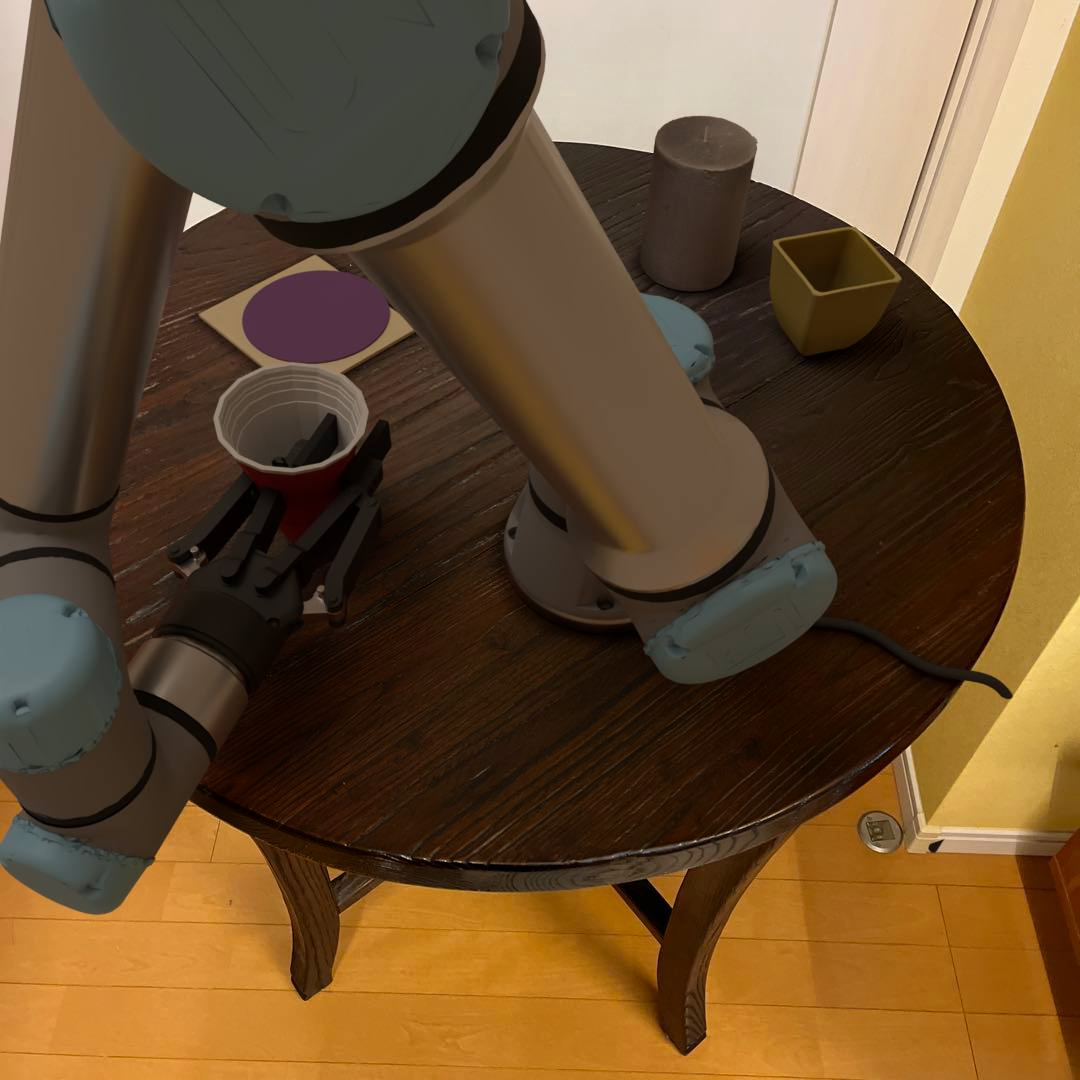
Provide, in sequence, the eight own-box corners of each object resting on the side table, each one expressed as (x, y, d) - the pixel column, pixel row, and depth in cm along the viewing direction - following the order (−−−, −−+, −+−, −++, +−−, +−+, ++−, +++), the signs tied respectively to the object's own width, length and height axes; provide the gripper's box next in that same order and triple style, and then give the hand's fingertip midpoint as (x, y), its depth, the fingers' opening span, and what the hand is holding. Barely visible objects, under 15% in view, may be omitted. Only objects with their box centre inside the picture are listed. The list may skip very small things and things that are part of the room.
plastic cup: (356, 585, 81) (335, 480, 72) (224, 557, 82) (186, 450, 73) (402, 482, 88) (388, 373, 78) (279, 457, 89) (250, 348, 80)
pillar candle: (627, 243, 112) (641, 107, 100) (714, 231, 114) (737, 96, 102) (658, 299, 106) (676, 162, 95) (749, 285, 108) (777, 149, 96)
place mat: (426, 325, 103) (426, 320, 102) (300, 399, 96) (299, 394, 95) (323, 253, 110) (322, 248, 109) (199, 317, 103) (197, 312, 102)
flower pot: (833, 301, 107) (855, 223, 100) (877, 356, 101) (904, 278, 94) (753, 317, 105) (771, 239, 98) (794, 374, 99) (815, 296, 92)
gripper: (107, 663, 72) (276, 434, 86) (323, 737, 69) (462, 487, 83) (72, 597, 66) (259, 363, 81) (306, 674, 63) (458, 417, 77)
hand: (362, 426), depth 82 cm, fingers closed on plastic cup, 3 cm apart
